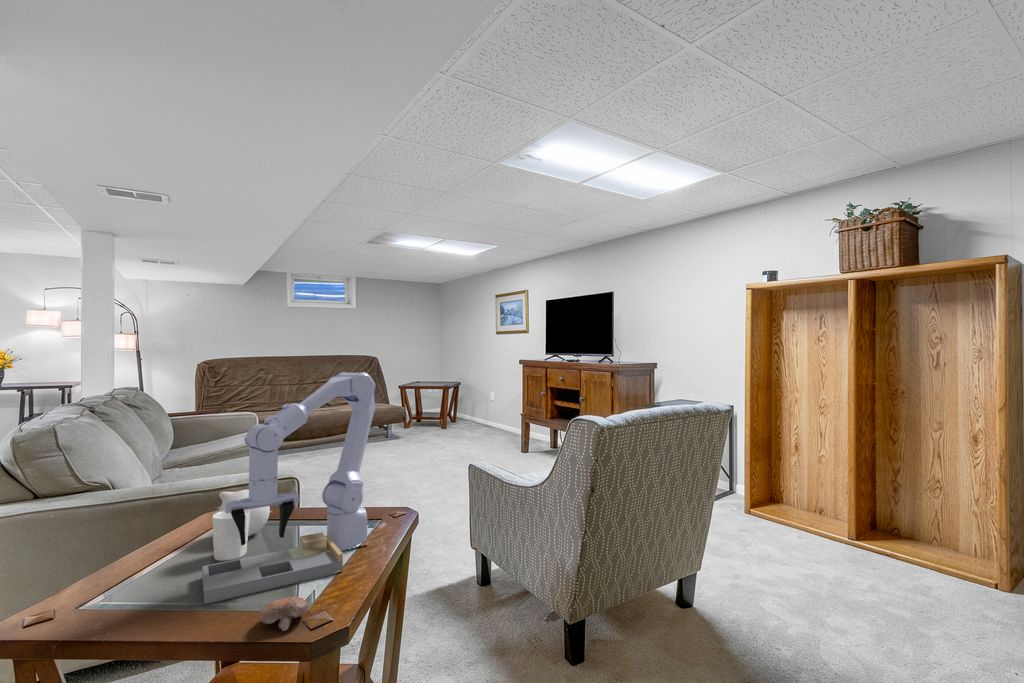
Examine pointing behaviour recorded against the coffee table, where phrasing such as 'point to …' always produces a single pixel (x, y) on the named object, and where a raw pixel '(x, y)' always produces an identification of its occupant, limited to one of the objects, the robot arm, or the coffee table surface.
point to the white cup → (228, 536)
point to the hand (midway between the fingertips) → (262, 539)
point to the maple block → (313, 544)
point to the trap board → (267, 572)
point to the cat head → (256, 514)
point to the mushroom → (283, 611)
